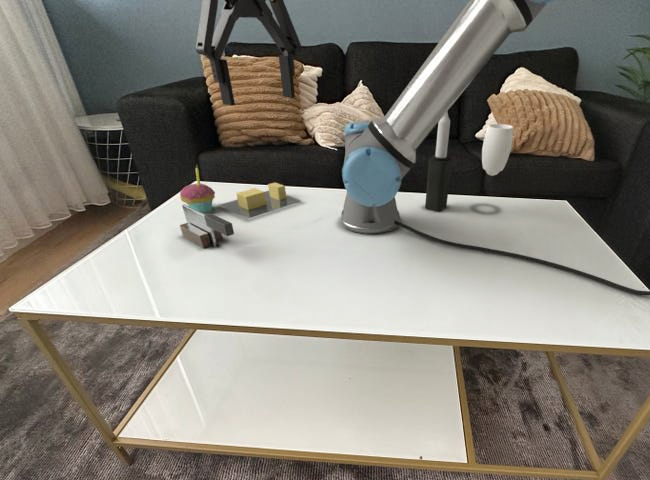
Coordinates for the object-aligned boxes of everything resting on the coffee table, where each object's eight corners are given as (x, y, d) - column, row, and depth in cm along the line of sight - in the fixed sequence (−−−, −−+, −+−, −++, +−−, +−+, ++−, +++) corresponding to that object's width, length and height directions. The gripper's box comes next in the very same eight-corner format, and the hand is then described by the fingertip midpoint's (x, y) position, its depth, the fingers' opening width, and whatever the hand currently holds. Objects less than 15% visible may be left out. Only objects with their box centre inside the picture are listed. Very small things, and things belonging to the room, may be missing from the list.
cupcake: (223, 207, 112) (212, 160, 105) (210, 218, 106) (197, 170, 98) (194, 205, 113) (180, 159, 105) (179, 217, 106) (164, 168, 99)
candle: (432, 203, 118) (441, 102, 102) (447, 206, 116) (460, 104, 100) (423, 208, 115) (431, 105, 98) (439, 212, 113) (450, 107, 96)
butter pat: (286, 198, 117) (284, 185, 115) (279, 200, 116) (277, 187, 113) (276, 194, 119) (275, 182, 117) (269, 196, 118) (267, 184, 116)
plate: (301, 203, 116) (301, 201, 116) (248, 220, 105) (247, 218, 105) (271, 191, 123) (271, 189, 122) (218, 207, 112) (218, 205, 112)
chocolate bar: (223, 241, 96) (220, 229, 94) (203, 248, 93) (199, 235, 91) (203, 230, 100) (199, 218, 98) (183, 237, 97) (179, 225, 95)
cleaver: (239, 256, 90) (232, 223, 85) (232, 258, 89) (224, 225, 84) (194, 232, 99) (185, 201, 95) (188, 234, 98) (178, 203, 93)
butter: (266, 204, 113) (264, 191, 111) (248, 210, 109) (245, 197, 107) (257, 200, 115) (254, 187, 113) (238, 206, 112) (236, 193, 109)
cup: (467, 207, 116) (479, 124, 102) (486, 202, 119) (500, 122, 105) (485, 215, 111) (500, 130, 98) (504, 210, 114) (521, 127, 101)
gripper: (285, -51, 72) (299, 92, 85) (144, -71, 57) (188, 105, 71) (313, -54, 68) (323, 96, 82) (170, -76, 53) (211, 111, 67)
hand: (260, 100), depth 76 cm, fingers open, 13 cm apart
